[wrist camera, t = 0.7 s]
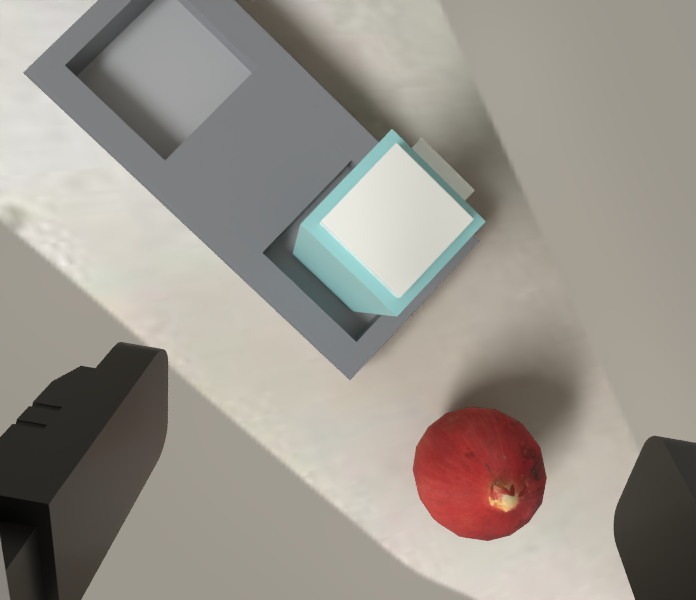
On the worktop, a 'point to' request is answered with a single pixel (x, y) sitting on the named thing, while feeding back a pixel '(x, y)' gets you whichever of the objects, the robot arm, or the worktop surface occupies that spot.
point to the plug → (388, 227)
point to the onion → (479, 473)
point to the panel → (224, 145)
